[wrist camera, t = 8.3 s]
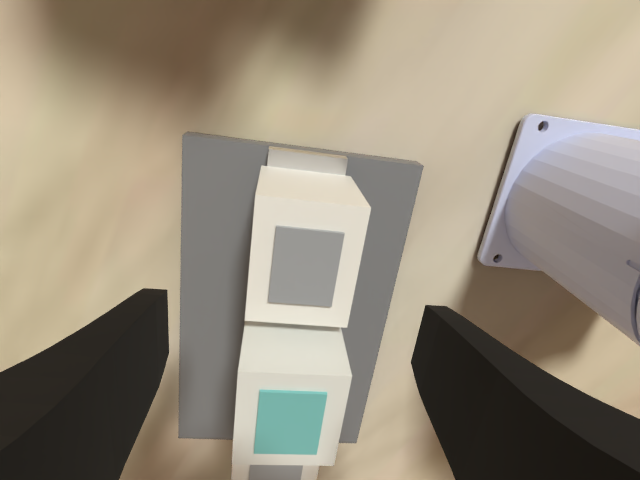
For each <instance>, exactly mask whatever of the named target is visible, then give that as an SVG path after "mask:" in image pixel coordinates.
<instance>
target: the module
mask: <svg viewBox="0 0 640 480" xmlns="http://www.w3.org/2000/svg"><path fill="white" fill-rule="evenodd" d="M351 380H352V373H351V369H350V365H349V360H348V356H347V352H346V347H345V343H344V339H343V334H342V330H341V327H329V326H314V325H300V324H285V323H271V322H256V321H245V325H244V332H243V339H242V346H241V353H240V360H239V367H238V376H237V391H236V406H235V420H234V435H233V450H232V465H310V466H334V463H335V458H336V453H337V448H338V443H339V439H340V434H341V429H342V424H343V419H344V414H345V409H346V404H347V399H348V394H349V390H350V385H351Z"/></svg>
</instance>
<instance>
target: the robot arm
mask: <svg viewBox="0 0 640 480" xmlns="http://www.w3.org/2000/svg"><path fill="white" fill-rule="evenodd" d="M542 121H543V123H544V125H543V128H542V129H541V130H540V131H539V130H538V125H539V123H540V122H542ZM497 254H499V257H498V258H497V259H495V260H493V258H494V256H496V255H497ZM477 258H478V260H479V261H480V262H481V263H482V264H483V265H485V266H494V267H505V268H515V269H526V270H536V271H543V272H544V273H546V274H547V275H548V276H550V277H551V278H552V279H553V280H555V281H556V282H557V283H559V284H560V285H561V286H563V287H564V288H565V289H566V290H568V291H569V292H570V293H572V294H573V295H574V296H575V297H577V298H578V299H579V300H581V301H582V302H583V303H585V304H586V305H587V306H588V307H590V308H591V309H592V310H594V311H595V312H596V313H597V314H599V315H600V316H601V317H603V318H604V319H605V320H607V321H608V322H609V323H610V324H612V325H613V326H614V327H616V328H617V329H618V330H620V331H621V332H622V333H623V334H625V335H626V336H627V337H629V338H630V339H631V340H632V341H634V342H635V343H636V344H638V345H639V346H640V130H638V129H631V128H625V127H618V126H612V125H605V124H599V123H592V122H586V121H579V120H573V119H566V118H560V117H553V116H547V115H540V114H534V113H532V114H527V115H525V116H524V117H523V118H522V120H521V122H520V124H519V127H518V130H517V134H516V137H515V140H514V143H513V146H512V149H511V152H510V155H509V158H508V162H507V165H506V168H505V171H504V174H503V177H502V180H501V183H500V187H499V190H498V193H497V196H496V199H495V202H494V205H493V208H492V211H491V215H490V218H489V221H488V224H487V227H486V230H485V233H484V236H483V240H482V243H481V246H480V249H479V252H478V257H477ZM168 354H169V336H168V300H167V290H162V289H145V288H143V289H142V290H140V291H138V292H137V293H135V294H134V295H132V296H130V297H129V298H127V299H126V300H125V301H123V302H122V303H120V304H119V305H117V306H116V307H114V308H113V309H111V310H110V311H108V312H107V313H105V314H104V315H102V316H100V317H99V318H97V319H96V320H94V321H93V322H91V323H90V324H88V325H87V326H85V327H83V328H82V329H80V330H78V331H77V332H75V333H73V334H71V335H70V336H68V337H66V338H65V339H63V340H61V341H60V342H58V343H56V344H55V345H53V346H51V347H49V348H48V349H46V350H44V351H42V352H40V353H38V354H36V355H35V356H33V357H31V358H29V359H27V360H25V361H23V362H21V363H19V364H17V365H15V366H13V367H10V368H8V369H6V370H4V371H2V372H0V480H119V478H120V475H121V473H122V470H123V468H124V465H125V463H126V461H127V459H128V456H129V454H130V452H131V449H132V447H133V445H134V443H135V440H136V438H137V436H138V434H139V431H140V429H141V427H142V425H143V422H144V420H145V418H146V416H147V413H148V411H149V409H150V406H151V404H152V402H153V399H154V397H155V395H156V392H157V390H158V388H159V385H160V382H161V378H162V375H163V372H164V368H165V365H166V361H167V358H168ZM411 364H412V368H413V372H414V376H415V380H416V384H417V387H418V390H419V394H420V396H421V399H422V401H423V404H424V406H425V409H426V411H427V413H428V416H429V418H430V420H431V423H432V425H433V427H434V430H435V432H436V434H437V437H438V439H439V441H440V444H441V446H442V448H443V451H444V453H445V455H446V458H447V460H448V462H449V465H450V467H451V469H452V472H453V475H454V477H455V480H640V419H638V418H636V417H634V416H632V415H629V414H627V413H625V412H623V411H621V410H619V409H616V408H614V407H612V406H610V405H608V404H606V403H603V402H601V401H599V400H597V399H595V398H593V397H591V396H589V395H587V394H585V393H583V392H582V391H580V390H578V389H576V388H574V387H572V386H571V385H569V384H567V383H565V382H563V381H561V380H559V379H558V378H556V377H554V376H552V375H551V374H549V373H547V372H545V371H544V370H542V369H541V368H539V367H537V366H536V365H534V364H533V363H531V362H529V361H528V360H526V359H525V358H523V357H521V356H520V355H518V354H517V353H515V352H514V351H512V350H511V349H509V348H508V347H506V346H505V345H503V344H502V343H500V342H499V341H497V340H496V339H494V338H493V337H492V336H490V335H489V334H487V333H486V332H484V331H483V330H481V329H480V328H479V327H477V326H476V325H474V324H473V323H471V322H470V321H468V320H467V319H466V318H464V317H463V316H461V315H460V314H458V313H456V312H455V311H453V310H452V309H450V308H448V307H446V306H432V305H426V306H425V309H424V313H423V317H422V321H421V325H420V329H419V333H418V337H417V341H416V345H415V349H414V352H413V356H412V360H411Z"/></svg>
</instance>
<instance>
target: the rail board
mask: <svg viewBox="0 0 640 480" xmlns="http://www.w3.org/2000/svg"><path fill="white" fill-rule="evenodd" d="M422 170H423V165H421V164H420V163H418V162H417V161H409V160H401V159H394V158H386V157H378V156H371V155H363V154H355V153H348V152H340V151H332V150H324V149H317V148H309V147H301V146H294V145H286V144H278V143H271V142H263V141H255V140H248V139H240V138H232V137H224V136H217V135H209V134H201V133H194V132H186V133H185V134H183V139H182V213H181V287H180V361H179V436H178V438H193V439H227V440H233V435H234V420H235V406H236V391H237V376H238V367H239V360H240V353H241V346H242V339H243V332H244V325H245V321H256V322H271V323H285V324H300V325H314V326H329V327H341V330H342V334H343V339H344V343H345V347H346V352H347V356H348V360H349V365H350V369H351V373H352V380H351V385H350V390H349V394H348V399H347V404H346V409H345V414H344V419H343V424H342V429H341V434H340V439H339V443H356V442H357V438H358V434H359V430H360V426H361V422H362V418H363V414H364V409H365V405H366V401H367V397H368V393H369V389H370V385H371V381H372V376H373V372H374V368H375V364H376V360H377V356H378V352H379V348H380V343H381V339H382V335H383V331H384V327H385V323H386V319H387V315H388V310H389V306H390V302H391V298H392V294H393V290H394V286H395V282H396V277H397V273H398V269H399V265H400V261H401V257H402V253H403V249H404V244H405V240H406V236H407V232H408V228H409V224H410V220H411V216H412V211H413V207H414V203H415V199H416V195H417V191H418V187H419V183H420V179H421V174H422ZM318 470H319V466H310V465H232V474H231V480H317V475H318Z"/></svg>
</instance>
